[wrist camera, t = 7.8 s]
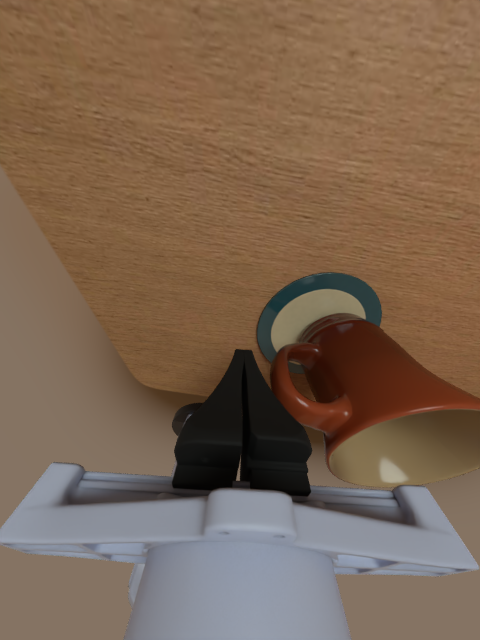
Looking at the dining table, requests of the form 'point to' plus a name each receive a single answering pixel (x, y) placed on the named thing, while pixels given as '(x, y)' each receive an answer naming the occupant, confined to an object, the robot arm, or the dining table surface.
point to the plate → (312, 309)
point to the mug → (377, 406)
